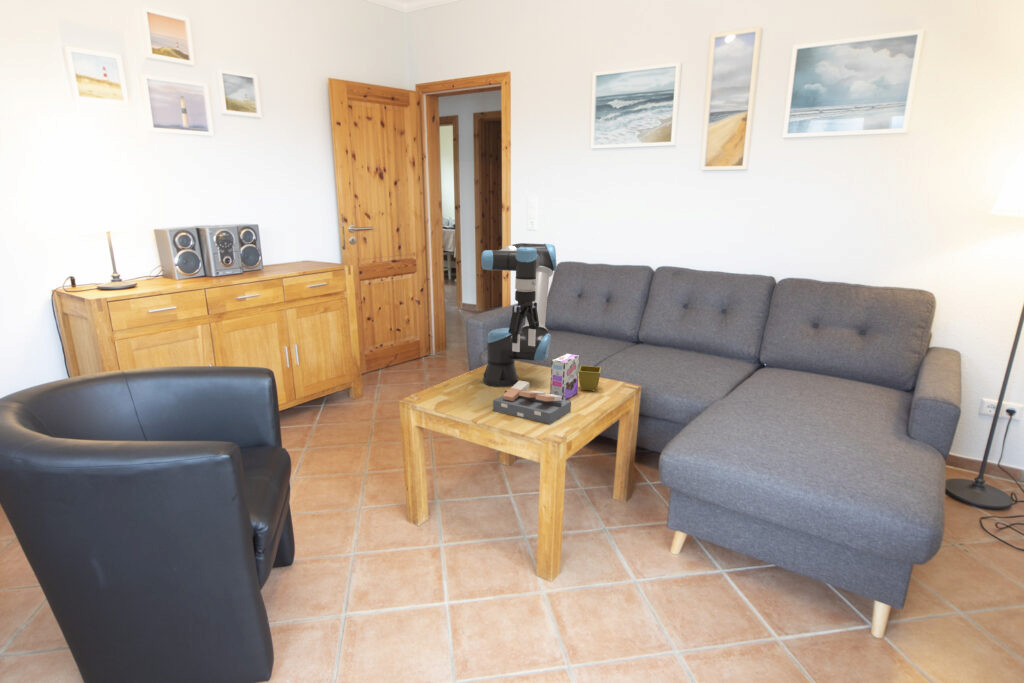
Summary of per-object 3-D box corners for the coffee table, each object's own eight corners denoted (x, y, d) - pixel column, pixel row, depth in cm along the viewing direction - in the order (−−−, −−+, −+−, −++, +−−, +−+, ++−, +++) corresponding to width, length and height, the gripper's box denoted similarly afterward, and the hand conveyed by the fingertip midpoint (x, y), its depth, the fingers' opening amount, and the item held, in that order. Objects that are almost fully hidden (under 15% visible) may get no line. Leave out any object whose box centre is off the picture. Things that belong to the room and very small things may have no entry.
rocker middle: (518, 395, 202) (519, 390, 202) (534, 394, 212) (535, 390, 212) (529, 397, 199) (529, 393, 199) (544, 397, 210) (545, 392, 210)
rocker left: (503, 399, 206) (502, 395, 206) (519, 384, 215) (519, 380, 215) (513, 401, 204) (512, 397, 203) (529, 386, 213) (529, 382, 212)
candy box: (562, 402, 217) (564, 362, 213) (549, 400, 220) (550, 359, 216) (578, 393, 228) (579, 354, 225) (565, 391, 231) (566, 352, 228)
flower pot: (598, 393, 229) (600, 372, 227) (577, 391, 231) (578, 370, 229) (599, 387, 238) (601, 366, 236) (579, 385, 240) (580, 365, 238)
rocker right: (535, 399, 198) (536, 394, 198) (550, 398, 208) (551, 394, 208) (546, 401, 196) (547, 396, 196) (561, 400, 206) (562, 396, 206)
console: (492, 410, 207) (492, 396, 205) (515, 399, 220) (516, 385, 219) (549, 424, 194) (550, 409, 193) (570, 411, 207) (571, 397, 206)
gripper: (517, 294, 193) (516, 356, 198) (549, 288, 212) (547, 344, 217) (499, 292, 197) (498, 353, 202) (532, 286, 216) (530, 341, 221)
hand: (523, 348), depth 210 cm, fingers open, 11 cm apart
